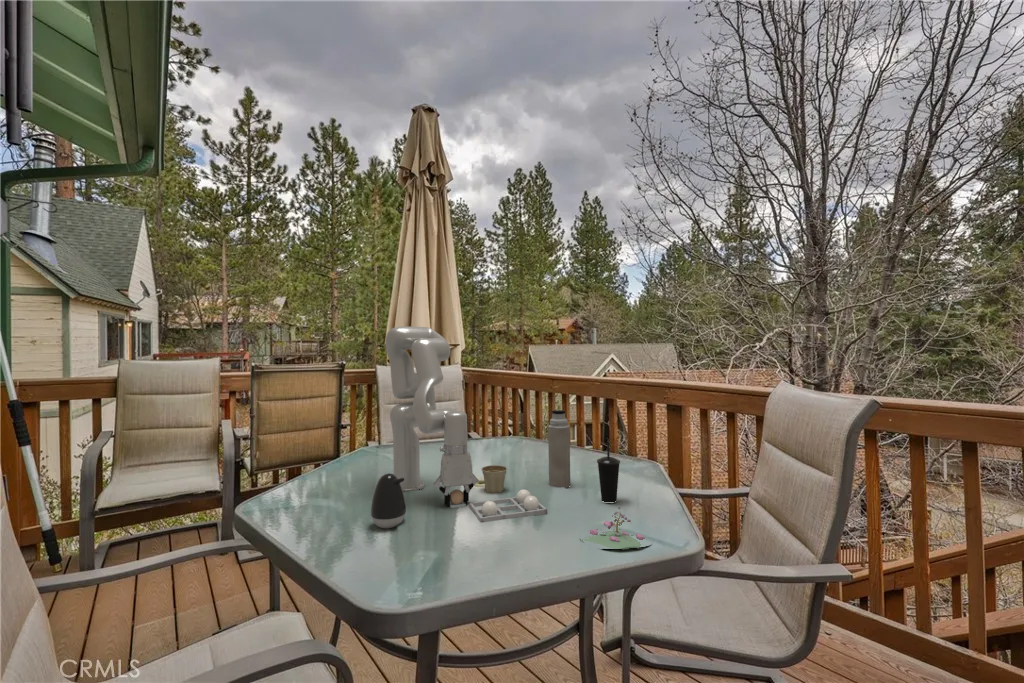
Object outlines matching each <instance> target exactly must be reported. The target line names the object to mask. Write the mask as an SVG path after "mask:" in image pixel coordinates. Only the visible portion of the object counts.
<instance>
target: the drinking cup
mask: <svg viewBox="0 0 1024 683" xmlns="http://www.w3.org/2000/svg"><path fill="white" fill-rule="evenodd" d="M606 445H607V446H606V447H607V448H606V449H607V450H606V451H607V453H606V454H607V456H602V457H600V458H597V459H596V462H597V467H598V468H597V469H598V479H599V488H600V497H601V502H602V501H604V502H615V501H616V502H617V497H618V488H619V487H618V486H619V473H620V464H621V460H620V459H618V458H615V457H613V456H610V441H607V444H606Z"/></svg>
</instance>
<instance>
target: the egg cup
mask: <svg viewBox="0 0 1024 683" xmlns="http://www.w3.org/2000/svg"><path fill="white" fill-rule="evenodd" d="M466 506H467V505H466V504H465V502H464V501H462V503H460V504H456V505H454V504H452V503H451V502H450V507H449V508H450V509H452V508H453V509H454V508H461V507H466Z"/></svg>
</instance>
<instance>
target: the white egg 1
mask: <svg viewBox="0 0 1024 683" xmlns="http://www.w3.org/2000/svg"><path fill="white" fill-rule="evenodd" d="M485 501H486V502H485V503H484V504H483V505H482V506H481V509H482V513H483V514H482V515H483V517H487V516H494V515H497V514H498V513H497V506H498V504H495V503H494V502H493V501H488V500H485Z"/></svg>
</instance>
